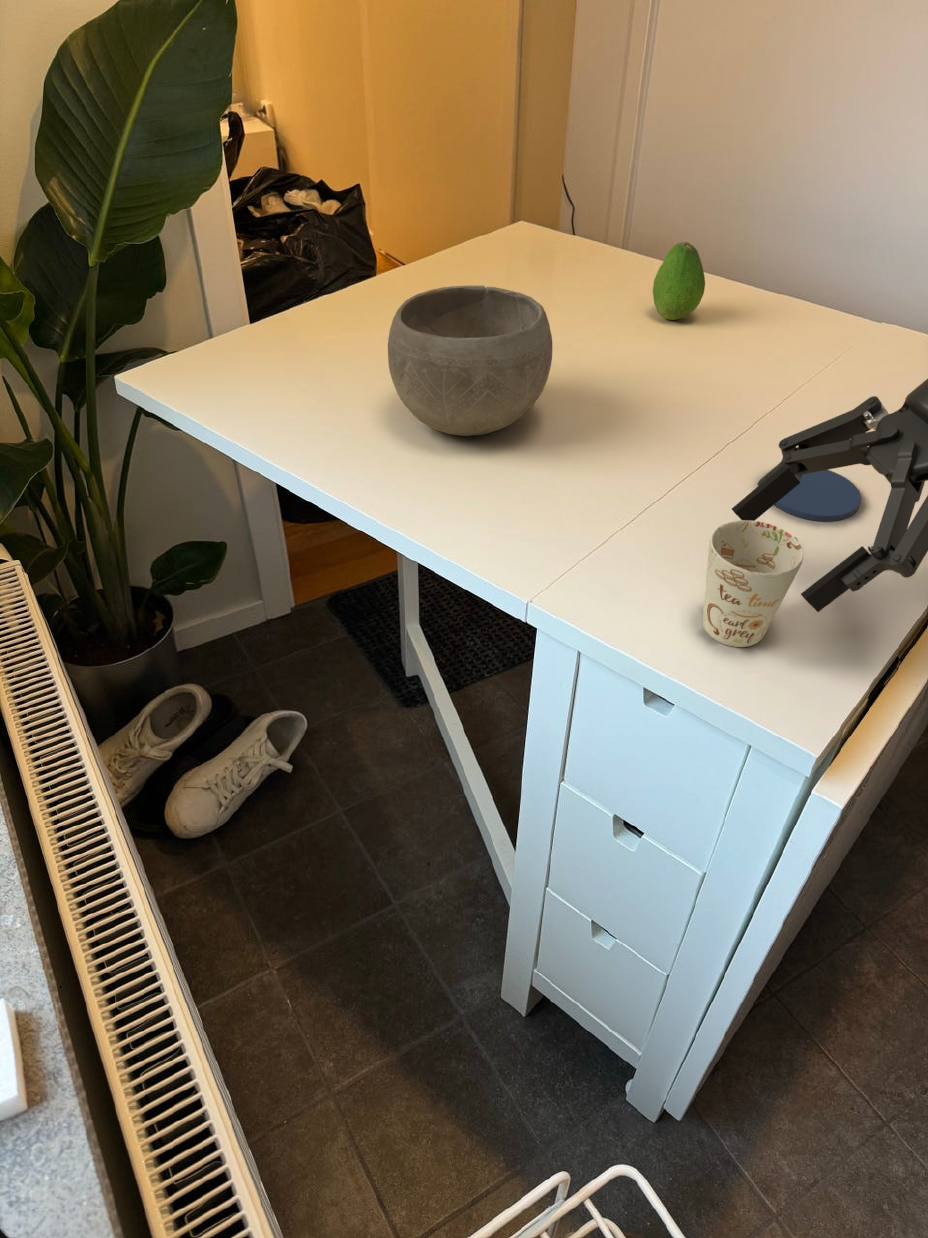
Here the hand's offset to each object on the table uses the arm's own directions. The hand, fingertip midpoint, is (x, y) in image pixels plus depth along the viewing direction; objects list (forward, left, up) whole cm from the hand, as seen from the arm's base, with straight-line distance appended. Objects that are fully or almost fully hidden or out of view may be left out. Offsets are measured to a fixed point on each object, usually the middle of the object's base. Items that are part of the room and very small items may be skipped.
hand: (772, 558), depth 85 cm
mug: (0, +1, -7) cm, 8 cm away
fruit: (+62, -40, -7) cm, 74 cm away
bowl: (+48, +6, -7) cm, 49 cm away
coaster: (+13, -21, -7) cm, 26 cm away
